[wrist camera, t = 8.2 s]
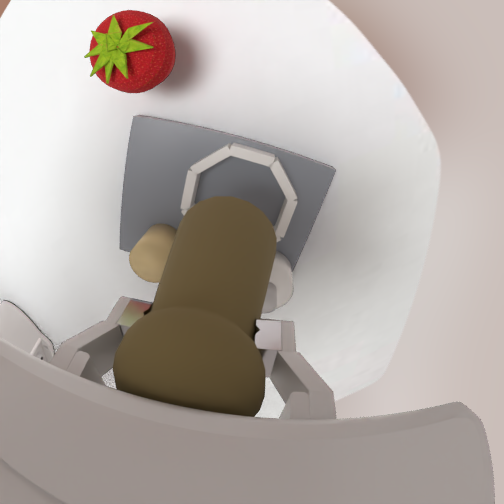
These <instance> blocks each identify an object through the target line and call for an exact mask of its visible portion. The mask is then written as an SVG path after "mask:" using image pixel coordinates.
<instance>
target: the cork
mask: <svg viewBox="0 0 504 504" xmlns="http://www.w3.org/2000/svg"><path fill="white" fill-rule="evenodd" d="M276 244H277V237H276V234H275V231H274V228H273V225H272V223H271V222H270V220H269V219H268V218H267V217H266V215H265V214H264V213H263V211H261V210H260V209H259V208H257V207H256V206H254V205H253V204H251V203H250V202H248V201H245V200H242V199H239V198H236V197H232V196H214V197H211V198H208V199H205V200H202V201H199V202H198V203H197V204H195V205H194V206H193V207H192V208H190V209H189V210H188V211H187V212H186V214H185V215H184V217H183V219H182V220H181V222H180V224H179V227H178V229H177V232H176V235H175V238H174V241H173V243H172V246H171V249H170V252H169V255H168V258H167V261H166V264H165V267H164V270H163V273H162V276H161V279H160V283H159V286H158V289H157V292H156V295H155V299H154V302H153V305H152V309H151V312H149V313H148V314H146V315H144V316H143V317H141V318H140V319H138V320H137V321H136V322H135V323H134V324H133V325H132V326H131V327H130V328H129V329H128V330H127V332H126V333H125V335H124V337H123V339H122V341H121V343H120V345H119V347H118V349H117V351H116V353H115V357H114V363H113V372H114V378H115V383H116V388H117V390H120V391H123V392H126V393H130V394H133V395H137V396H140V397H144V398H148V399H152V400H156V401H160V402H164V403H168V404H173V405H178V406H182V407H187V408H193V409H198V410H204V411H210V412H217V413H224V414H232V415H240V416H250V417H254V416H255V415H256V414H257V413H258V412H259V410H260V408H261V405H262V402H263V399H264V395H265V371H266V370H265V366H264V363H263V359H262V356H261V354H260V352H259V350H258V348H257V346H256V344H255V342H254V339H255V338H254V334H255V326H256V318H260V317H261V313H262V309H263V305H264V301H265V297H266V292H267V288H268V284H269V280H270V276H271V272H272V268H273V263H274V259H275V255H276Z"/></svg>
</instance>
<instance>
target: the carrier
mask: <svg viewBox="0 0 504 504" xmlns="http://www.w3.org/2000/svg"><path fill="white" fill-rule="evenodd" d="M335 171H336V170H335V169H334V168H333V167H332V166H329V165H326V164H324V163H321V162H318V161H316V160H313V159H310V158H307V157H304V156H301V155H299V154H296V153H293V152H290V151H287V150H284V149H280V148H277V147H274V146H271V145H268V144H264V143H261V142H258V141H254V140H251V139H247V138H244V137H240V136H236V135H233V134H229V133H225V132H221V131H217V130H213V129H208V128H204V127H200V126H195V125H191V124H186V123H181V122H176V121H171V120H166V119H160V118H154V117H148V116H142V115H137V116H133V121H132V126H131V132H130V138H129V144H128V151H127V158H126V166H125V174H124V184H123V194H122V207H121V224H120V249H121V250H124V251H127V252H130V255H129V261H130V265H131V267H132V269H133V271H134V272H135V273H136V274H137V275H138V276H139V277H140V278H142V279H144V280H146V281H148V282H153V283H157V282H160V279H161V276H162V273H163V270H164V267H165V264H166V261H167V258H168V255H169V252H170V249H171V246H172V243H173V241H174V238H175V235H176V232H177V229H178V227H179V224H180V222H181V220H182V219H183V217H184V215H185V214H186V212H187V211H188V210H189V209H190V208H192V207H193V206H194V205H195V204H197V203H198V202H199V201H202V200H205V199H208V198H211V197H214V196H232V197H236V198H239V199H242V200H245V201H248V202H250V203H251V204H253V205H254V206H256V207H257V208H259V209H260V210H261V211H263V213H264V214H265V215H266V217H267V218H268V219H269V220H270V222H271V223H272V225H273V228H274V231H275V234H276V237H277V244H276V255H275V259H274V263H273V268H272V272H271V276H270V280H269V284H268V288H267V292H266V297H265V301H264V305H263V309H262V313H270V312H272V311H274V310H275V309H277V308H279V307H281V306H283V305H285V304H286V303H287V302H288V301H289V300H290V298H291V297H292V294H293V280H292V272H293V269H294V267H295V265H296V263H297V261H298V258H299V256H300V254H301V252H302V250H303V247H304V245H305V243H306V240H307V238H308V236H309V234H310V231H311V229H312V227H313V224H314V222H315V220H316V217H317V215H318V213H319V210H320V208H321V206H322V203H323V201H324V198H325V196H326V194H327V191H328V189H329V186H330V184H331V181H332V179H333V176H334V174H335Z"/></svg>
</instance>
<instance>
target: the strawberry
mask: <svg viewBox="0 0 504 504" xmlns="http://www.w3.org/2000/svg"><path fill="white" fill-rule="evenodd" d="M91 32H92V34H93V37H92V40H91V44H90V52H89V53H88V54H87V55H85V56H84V57H85V58H86V57H90V61H91V65H92V67H93V70H92V73H91V75H90V77H91V76H93V75H94V74H95V73H96V75H97V76H98V77H99V78H100V79H101V81H102V82H104V83H105V84H107V85H108V86H110V87H112V88H114V89H117V90H120V91H123V92H127V93H141V92H145V91H148V90H150V89H152V88H154V87H155V86H157V85H158V84H160V83H161V82H163V81H164V80H165V79H166V78H167V77H168V76H169V74H170V72H171V71H172V69H173V66H174V63H175V47H174V43H173V40H172V37H171V35H170V33H169V30H168V29H167V27H166V26H165V25H164V23H163V22H161V21H160V20H159V19H158V18H156V17H155V16H153V15H151V14H148V13H145V12H140V11H134V10H127V11H121V12H118V13H115V14H113V15H111V16H109V17H108V18H106V19H105V20H104V21H103V22H102V23H101V24H100V25H99V26H98V28H97V29H96V31H91Z"/></svg>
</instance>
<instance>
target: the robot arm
mask: <svg viewBox="0 0 504 504" xmlns="http://www.w3.org/2000/svg"><path fill="white" fill-rule="evenodd" d="M152 305H153V303H152V302H147V301H142V300H138V299H133V298H128V297H124V296H122V297H121V298H119V300H118V302H117V303H116V305H115V306H114V308H113V310H112V311H111V313H110V314H109V316H108V318H107V319H106V321H101V322H99V323H97V324H95V325H94V326H92V327H90V328H88V329H86V330H85V331H83V332H81V333H79V334H77V335H75V336H74V337H72V338H70V339H68V340H66V341H65V342H63V343H62V344H61V345H60V347H59V348H58V350H57V352H56V353H55V355H54V350H53V345H52V343H51V341H50V340H49V339H48V338H46V337H45V336H44V335H43V334H42V333H41V332H40V331H39V330H38V328H37V327H36V326H35V325H34V323H33V322H32V321H31V320H30V319H29V318H28V317H27V316H26V315H25V314H24V313H23V312H22V311H21V310H20V309H19V308H17V307H16V306H15V305H13V304H12V303H10V302H8V301H2V302H1V304H0V504H495V493H494V477H493V467H492V461H491V454H490V450H489V445H488V440H487V436H486V432H485V429H484V426H483V423H482V421H481V419H480V418H479V417H478V416H477V415H476V414H475V413H474V412H472V411H471V410H470V409H469V408H468V407H467V406H466V405H464V404H463V403H461V402H452V403H448V404H444V405H440V406H435V407H430V408H425V409H420V410H415V411H409V412H403V413H396V414H388V415H381V416H371V417H360V418H345V419H336V411H335V402H334V394H333V391H332V390H331V389H330V387H329V386H328V385H327V384H326V383H325V382H324V381H323V379H322V378H321V377H320V376H319V375H318V374H317V372H316V371H315V370H314V369H313V368H312V367H311V365H310V364H309V363H308V362H307V361H306V359H305V358H304V357H303V356H302V355H301V354H300V353H299V352H296V343H295V329H294V322H293V321H283V320H281V321H280V320H272V319H262V318H256V326H255V334H254V338H255V339H254V342H255V344H256V346H257V348H258V350H259V352H260V354H261V356H262V359H263V363H264V366H265V370H266V371H265V377H270V379H271V381H272V383H273V384H274V386H275V388H276V389H277V391H278V392H279V394H280V396H281V397H282V399H283V401H284V402H285V404H286V405H285V407H284V409H283V411H282V413H281V415H280V417H279V419H277V418H261V417H250V416H240V415H232V414H224V413H217V412H210V411H204V410H198V409H193V408H187V407H182V406H178V405H173V404H168V403H164V402H160V401H156V400H152V399H148V398H144V397H140V396H137V395H133V394H130V393H126V392H123V391H120V390H117V389H113V388H110V387H107V386H106V385H105V383H104V381H103V379H102V378H101V377H102V376H103V375H104V374H105V373H107V372H108V371H109V370H110V369H112V368H113V363H114V357H115V353H116V351H117V349H118V347H119V345H120V343H121V341H122V339H123V337H124V335H125V333H126V332H127V330H128V329H129V328H130V327H131V326H132V325H133V324H134V323H135V322H136V321H137V320H138V319H140V318H141V317H143V316H144V315H146V314H148V313H149V312H151V309H152Z"/></svg>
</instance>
